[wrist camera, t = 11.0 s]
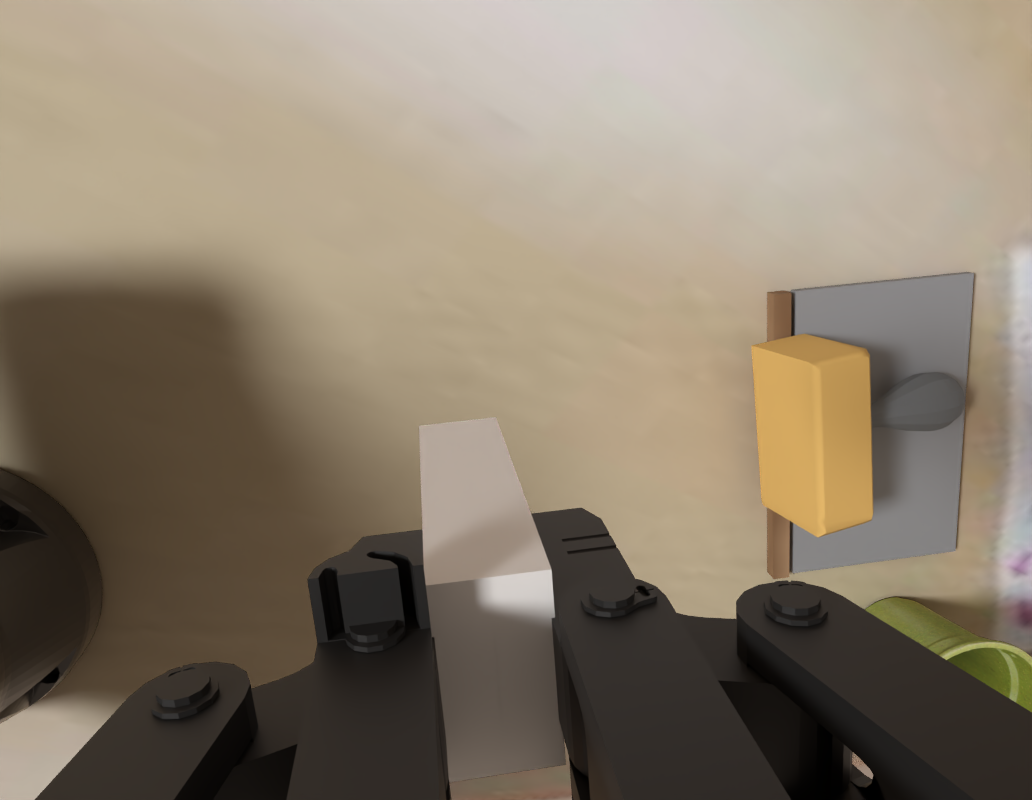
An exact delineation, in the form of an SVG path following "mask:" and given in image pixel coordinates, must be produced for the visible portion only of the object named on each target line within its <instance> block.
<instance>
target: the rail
mask: <svg viewBox="0 0 1032 800" xmlns="http://www.w3.org/2000/svg"><path fill="white" fill-rule="evenodd" d="M787 337H791V293H790V292H787V291H776V292H767V342H769V341H774V340H778V339H782V338H787ZM789 543H790V521H789V520H788V519H786V518H784V517H783V516H781V515H779V514H778V513H776V512H774V511H773V510H771V509H769V508H767V572H768V573H769V574H770V575H771V576H772V577H773V579H778V578H786V577H789Z"/></svg>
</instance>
